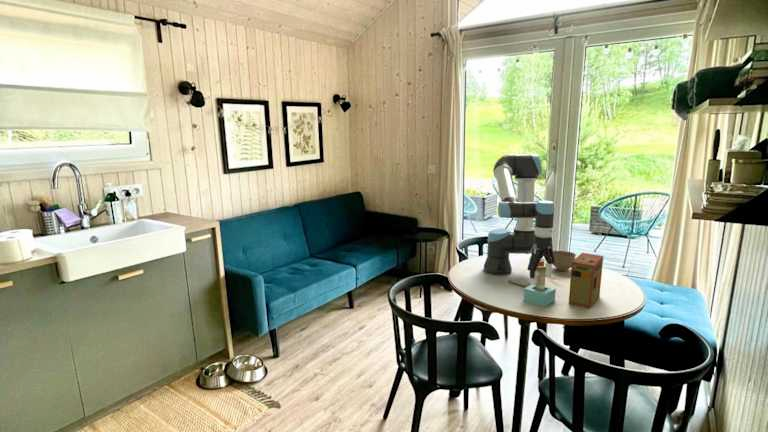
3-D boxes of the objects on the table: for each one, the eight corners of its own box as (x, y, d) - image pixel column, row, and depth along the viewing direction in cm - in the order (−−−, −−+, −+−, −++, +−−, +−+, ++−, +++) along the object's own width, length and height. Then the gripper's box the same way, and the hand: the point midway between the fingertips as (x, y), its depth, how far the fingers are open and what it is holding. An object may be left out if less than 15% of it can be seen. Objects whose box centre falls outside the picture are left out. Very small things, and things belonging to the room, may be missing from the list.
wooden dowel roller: (532, 300, 187) (534, 267, 184) (537, 298, 190) (539, 265, 187) (541, 303, 184) (543, 269, 181) (545, 300, 187) (547, 267, 184)
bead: (523, 300, 188) (524, 288, 186) (534, 294, 194) (535, 282, 193) (544, 307, 180) (544, 294, 179) (554, 300, 187) (555, 288, 185)
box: (578, 292, 196) (582, 252, 191) (599, 296, 190) (603, 256, 186) (568, 304, 183) (571, 261, 179) (590, 309, 177) (594, 265, 173)
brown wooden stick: (508, 282, 210) (508, 280, 209) (509, 282, 210) (509, 280, 210) (527, 288, 202) (527, 286, 202) (528, 287, 202) (528, 285, 202)
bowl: (576, 268, 229) (577, 251, 227) (572, 275, 218) (574, 257, 216) (552, 264, 235) (553, 248, 233) (547, 271, 225) (549, 253, 223)
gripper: (537, 242, 170) (534, 290, 174) (564, 232, 186) (561, 275, 190) (520, 239, 175) (518, 285, 180) (548, 229, 191) (546, 272, 196)
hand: (540, 280), depth 185 cm, fingers open, 13 cm apart
